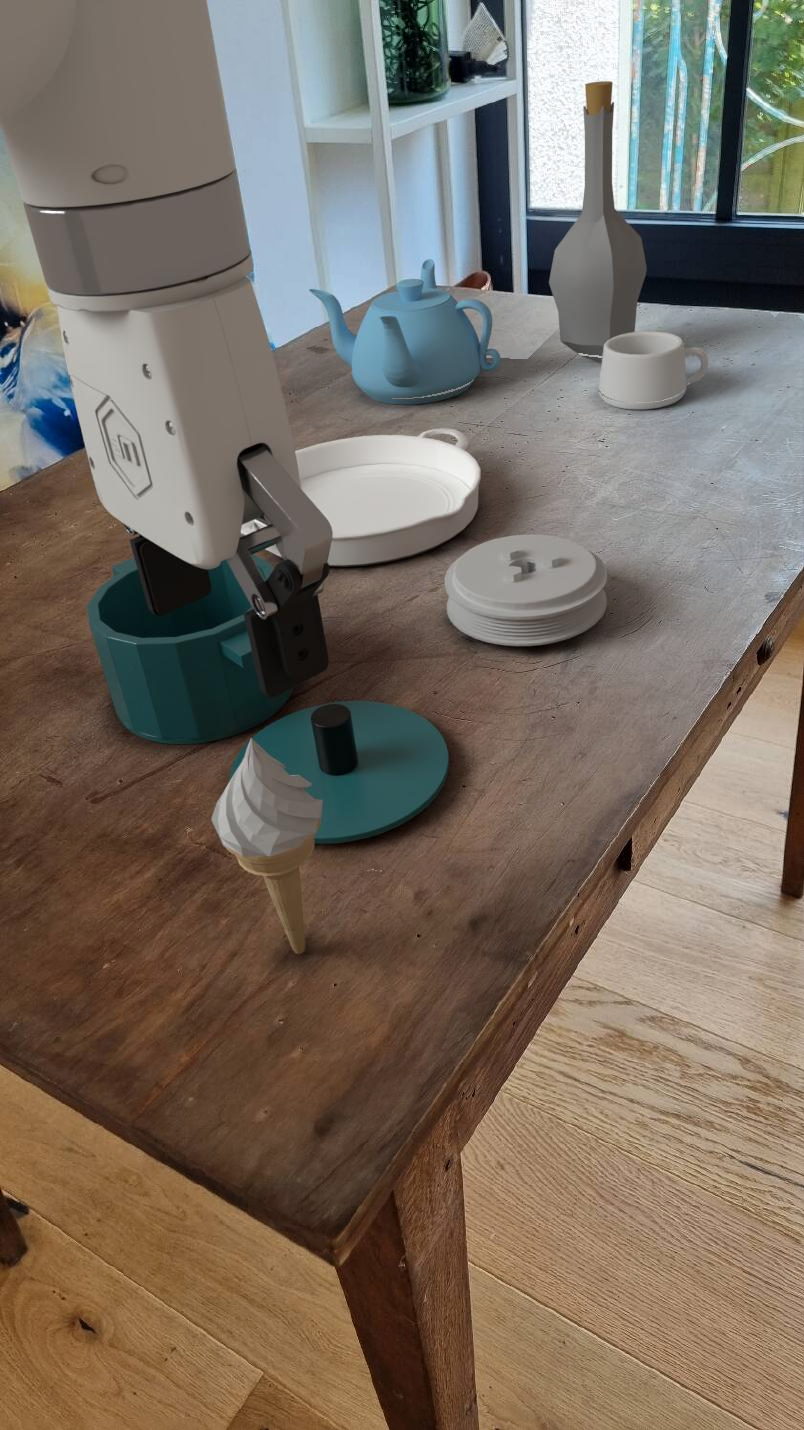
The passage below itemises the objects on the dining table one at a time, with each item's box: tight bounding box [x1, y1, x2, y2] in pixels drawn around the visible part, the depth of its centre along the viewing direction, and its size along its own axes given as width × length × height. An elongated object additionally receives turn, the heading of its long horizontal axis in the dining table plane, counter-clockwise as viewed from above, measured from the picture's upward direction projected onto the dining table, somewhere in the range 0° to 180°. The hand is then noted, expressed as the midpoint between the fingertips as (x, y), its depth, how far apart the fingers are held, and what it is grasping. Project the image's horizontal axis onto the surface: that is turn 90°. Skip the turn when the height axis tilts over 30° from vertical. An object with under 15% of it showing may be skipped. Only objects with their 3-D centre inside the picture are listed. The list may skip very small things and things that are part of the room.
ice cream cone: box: [210, 737, 323, 955], centre depth 57 cm, size 6×6×15 cm
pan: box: [240, 427, 482, 568], centre depth 106 cm, size 24×27×4 cm
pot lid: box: [229, 700, 450, 845], centre depth 73 cm, size 15×15×5 cm
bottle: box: [548, 80, 648, 363], centre depth 127 cm, size 11×11×30 cm
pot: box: [86, 554, 295, 745], centre depth 82 cm, size 14×19×8 cm
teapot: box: [308, 258, 502, 405], centre depth 132 cm, size 17×19×12 cm
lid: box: [444, 533, 608, 647], centre depth 87 cm, size 13×13×5 cm
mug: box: [598, 330, 709, 410], centre depth 123 cm, size 12×10×6 cm
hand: (235, 640), depth 50 cm, fingers open, 9 cm apart
